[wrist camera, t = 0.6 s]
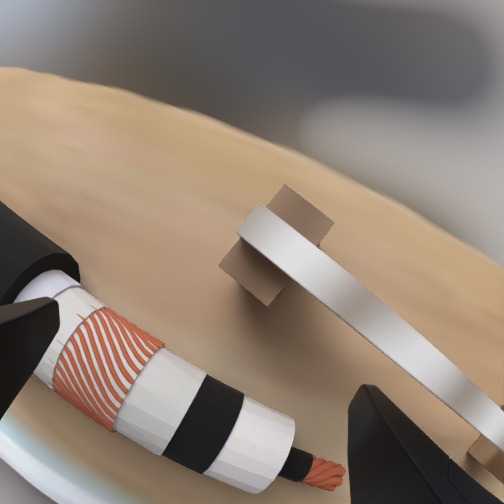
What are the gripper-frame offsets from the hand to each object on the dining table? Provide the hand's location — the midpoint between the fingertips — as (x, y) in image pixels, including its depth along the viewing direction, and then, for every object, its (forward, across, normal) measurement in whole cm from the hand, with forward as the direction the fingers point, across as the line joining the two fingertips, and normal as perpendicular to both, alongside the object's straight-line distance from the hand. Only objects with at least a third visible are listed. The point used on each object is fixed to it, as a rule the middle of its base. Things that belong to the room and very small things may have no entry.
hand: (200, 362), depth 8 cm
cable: (+12, +6, +11) cm, 17 cm away
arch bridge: (+11, -14, +6) cm, 18 cm away
